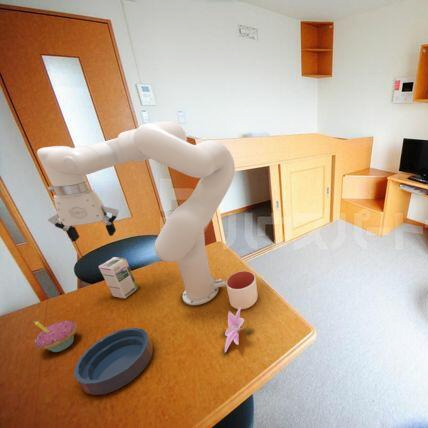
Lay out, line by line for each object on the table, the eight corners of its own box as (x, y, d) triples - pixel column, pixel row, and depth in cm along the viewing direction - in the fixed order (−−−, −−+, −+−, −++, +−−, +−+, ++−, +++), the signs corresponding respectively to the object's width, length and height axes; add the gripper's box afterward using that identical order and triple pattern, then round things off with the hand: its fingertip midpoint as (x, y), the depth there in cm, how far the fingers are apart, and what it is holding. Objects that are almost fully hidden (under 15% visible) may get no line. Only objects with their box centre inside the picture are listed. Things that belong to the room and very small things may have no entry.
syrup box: (125, 299, 89) (111, 268, 83) (112, 296, 90) (97, 265, 84) (138, 288, 94) (126, 258, 88) (126, 286, 95) (113, 256, 89)
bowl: (158, 333, 76) (153, 321, 74) (146, 381, 63) (140, 368, 61) (97, 350, 71) (89, 338, 68) (71, 407, 58) (60, 394, 55)
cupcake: (47, 363, 67) (25, 334, 62) (38, 348, 71) (17, 319, 66) (86, 340, 73) (69, 312, 68) (76, 327, 77) (60, 300, 72)
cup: (262, 293, 92) (260, 273, 88) (250, 313, 84) (246, 292, 79) (239, 289, 94) (235, 268, 90) (224, 308, 86) (220, 287, 81)
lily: (234, 319, 83) (216, 308, 76) (264, 312, 80) (247, 300, 74) (226, 358, 74) (205, 349, 68) (259, 351, 71) (240, 341, 65)
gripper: (26, 196, 66) (54, 247, 73) (103, 188, 72) (122, 237, 80) (41, 187, 72) (66, 236, 80) (111, 181, 79) (129, 227, 86)
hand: (94, 236), depth 80 cm, fingers open, 9 cm apart
